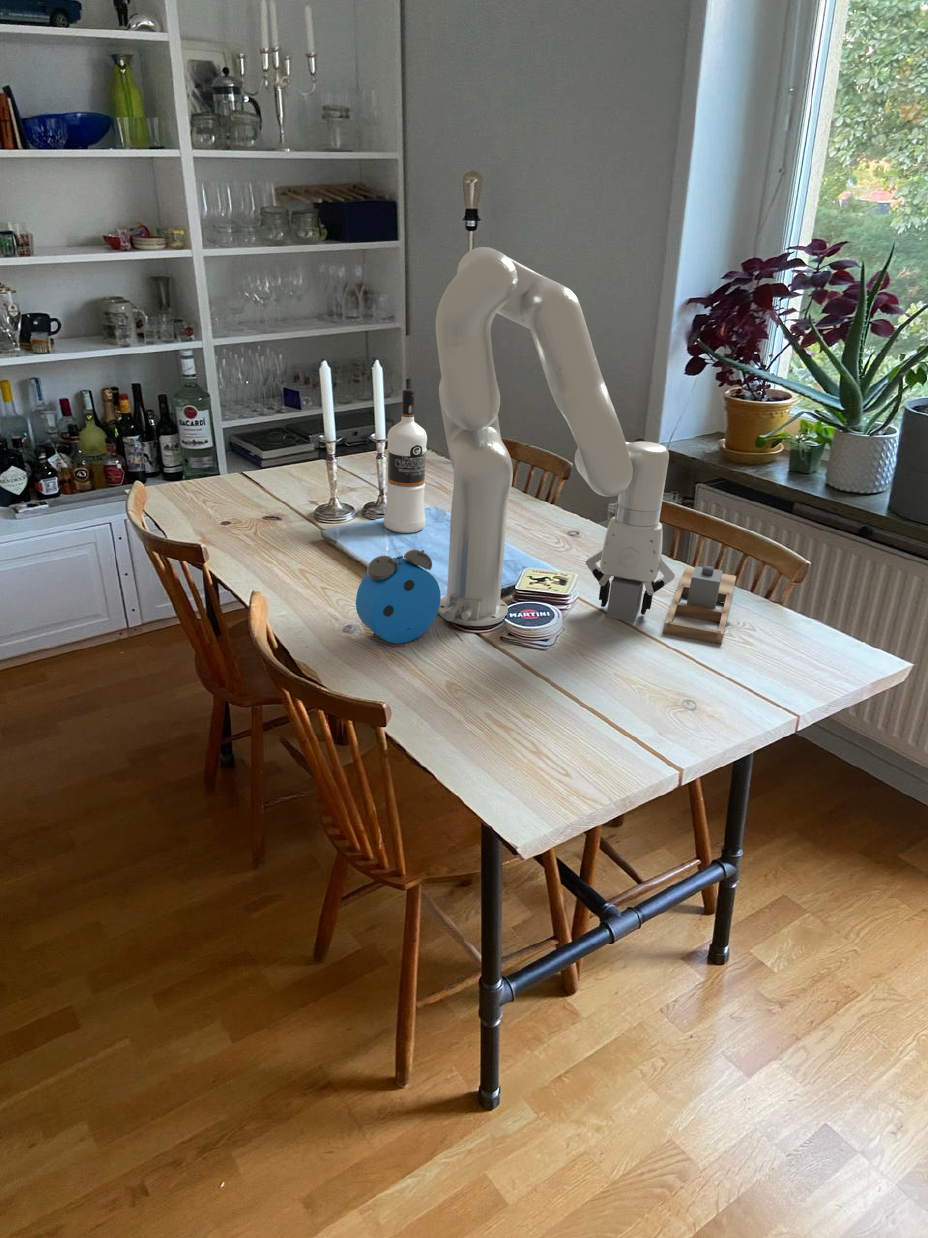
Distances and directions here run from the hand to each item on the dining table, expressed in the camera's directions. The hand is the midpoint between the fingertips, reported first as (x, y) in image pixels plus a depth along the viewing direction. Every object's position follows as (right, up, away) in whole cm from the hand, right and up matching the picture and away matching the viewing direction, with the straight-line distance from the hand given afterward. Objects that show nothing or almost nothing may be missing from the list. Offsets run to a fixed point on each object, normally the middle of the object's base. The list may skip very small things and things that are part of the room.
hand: (624, 607), depth 165 cm
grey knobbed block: (+15, 0, +5) cm, 16 cm away
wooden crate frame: (+15, 0, +5) cm, 16 cm away
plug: (0, -1, +1) cm, 1 cm away
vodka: (-42, +18, +35) cm, 58 cm away
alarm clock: (-40, -5, -13) cm, 43 cm away
